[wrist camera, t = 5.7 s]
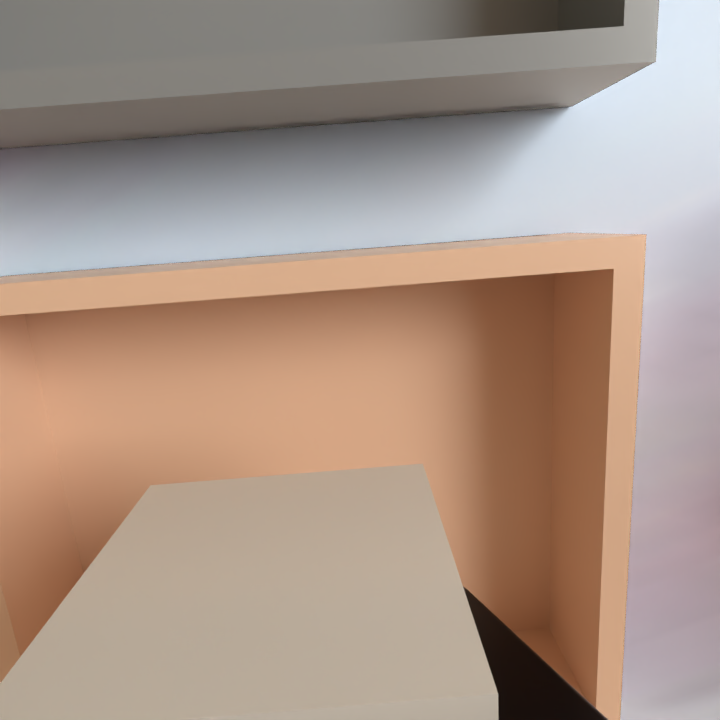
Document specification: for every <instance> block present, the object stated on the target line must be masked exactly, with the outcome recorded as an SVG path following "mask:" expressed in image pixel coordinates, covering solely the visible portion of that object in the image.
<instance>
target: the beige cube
mask: <svg viewBox="0 0 720 720" xmlns="http://www.w3.org/2000/svg"><path fill="white" fill-rule="evenodd" d="M0 720H499V717H498V692H497V689H496V686H495V683H494V680H493V676H492V673H491V670H490V667H489V664H488V661H487V658H486V655H485V652H484V649H483V646H482V643H481V640H480V637H479V634H478V631H477V628H476V625H475V621H474V618H473V615H472V612H471V609H470V606H469V603H468V600H467V597H466V594H465V591H464V588H463V585H462V582H461V579H460V576H459V573H458V570H457V567H456V563H455V560H454V557H453V554H452V551H451V548H450V545H449V542H448V539H447V536H446V533H445V530H444V527H443V524H442V521H441V518H440V515H439V512H438V508H437V505H436V502H435V499H434V496H433V493H432V490H431V487H430V484H429V481H428V478H427V475H426V472H425V469H424V466H423V464H412V465H399V466H386V467H374V468H361V469H349V470H336V471H323V472H311V473H298V474H285V475H273V476H260V477H248V478H235V479H222V480H210V481H197V482H185V483H172V484H159V485H150V487H149V488H148V489H147V491H146V492H145V493H144V495H143V496H142V497H141V499H140V500H139V501H138V503H137V504H136V505H135V506H134V508H133V509H132V510H131V512H130V513H129V514H128V516H127V517H126V518H125V520H124V521H123V522H122V524H121V525H120V526H119V528H118V529H117V530H116V532H115V533H114V534H113V535H112V537H111V538H110V539H109V541H108V542H107V543H106V545H105V546H104V547H103V549H102V550H101V551H100V553H99V554H98V555H97V557H96V558H95V559H94V561H93V562H92V563H91V564H90V566H89V567H88V568H87V570H86V571H85V572H84V574H83V575H82V576H81V578H80V579H79V580H78V582H77V583H76V584H75V586H74V587H73V588H72V590H71V591H70V592H69V593H68V595H67V596H66V597H65V599H64V600H63V601H62V603H61V604H60V605H59V607H58V608H57V609H56V611H55V612H54V613H53V615H52V616H51V617H50V619H49V620H48V621H47V623H46V624H45V625H44V626H43V628H42V629H41V630H40V632H39V633H38V634H37V636H36V637H35V638H34V640H33V641H32V642H31V644H30V645H29V646H28V648H27V649H26V650H25V652H24V653H23V654H22V655H21V657H20V658H19V659H18V661H17V662H16V663H15V665H14V666H13V667H12V669H11V670H10V671H9V673H8V674H7V675H6V677H5V678H4V679H3V681H2V682H1V683H0Z"/></svg>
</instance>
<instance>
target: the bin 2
mask: <svg viewBox="0 0 720 720" xmlns="http://www.w3.org/2000/svg"><path fill="white" fill-rule="evenodd" d="M645 250H646V235H643V234H597V233H562V234H549V235H536V236H522V237H509V238H496V239H483V240H470V241H457V242H444V243H431V244H418V245H404V246H391V247H378V248H365V249H352V250H339V251H326V252H313V253H300V254H286V255H273V256H260V257H247V258H234V259H221V260H208V261H195V262H181V263H168V264H155V265H142V266H129V267H116V268H103V269H90V270H77V271H63V272H50V273H37V274H24V275H11V276H2V277H0V682H2V681H3V679H4V678H5V677H6V675H7V674H8V673H9V671H10V670H11V669H12V667H13V666H14V665H15V663H16V662H17V661H18V659H19V658H20V657H21V655H22V654H23V653H24V652H25V650H26V649H27V648H28V646H29V645H30V644H31V642H32V641H33V640H34V638H35V637H36V636H37V634H38V633H39V632H40V630H41V629H42V628H43V626H44V625H45V624H46V623H47V621H48V620H49V619H50V617H51V616H52V615H53V613H54V612H55V611H56V609H57V608H58V607H59V605H60V604H61V603H62V601H63V600H64V599H65V597H66V596H67V595H68V593H69V592H70V591H71V590H72V588H73V587H74V586H75V584H76V583H77V582H78V580H79V579H80V578H81V576H82V575H83V574H84V572H85V571H86V570H87V568H88V567H89V566H90V564H91V563H92V562H93V561H94V559H95V558H96V557H97V555H98V554H99V553H100V551H101V550H102V549H103V547H104V546H105V545H106V543H107V542H108V541H109V539H110V538H111V537H112V535H113V534H114V533H115V532H116V530H117V529H118V528H119V526H120V525H121V524H122V522H123V521H124V520H125V518H126V517H127V516H128V514H129V513H130V512H131V510H132V509H133V508H134V506H135V505H136V504H137V503H138V501H139V500H140V499H141V497H142V496H143V495H144V493H145V492H146V491H147V489H148V488H149V487H150V485H159V484H172V483H185V482H197V481H210V480H222V479H235V478H248V477H260V476H273V475H285V474H298V473H311V472H323V471H336V470H349V469H361V468H374V467H386V466H399V465H412V464H423V466H424V469H425V472H426V475H427V478H428V481H429V484H430V487H431V490H432V493H433V496H434V499H435V502H436V505H437V508H438V512H439V515H440V518H441V521H442V524H443V527H444V530H445V533H446V536H447V539H448V542H449V545H450V548H451V551H452V554H453V557H454V560H455V563H456V567H457V570H458V573H459V576H460V579H461V582H462V585H463V587H465V588H466V589H467V590H469V591H470V592H471V593H472V594H473V595H474V596H475V597H476V598H477V599H478V600H479V601H480V602H481V603H483V604H484V605H485V606H486V607H487V608H488V609H489V610H490V611H491V612H492V613H493V614H494V615H496V616H497V617H498V618H499V619H500V620H501V621H502V622H503V623H504V624H505V625H506V626H507V627H509V628H510V629H511V630H512V631H513V632H514V633H515V634H516V635H517V636H518V637H519V638H520V639H522V640H523V641H524V642H525V643H526V644H527V645H528V646H529V647H530V648H531V649H532V650H533V651H534V652H536V653H537V654H538V655H539V656H540V657H541V658H542V659H543V660H544V661H545V662H546V663H547V664H549V665H550V666H551V667H552V668H553V669H554V670H555V671H556V672H557V673H558V674H559V675H560V676H562V677H563V678H564V679H565V680H566V681H567V682H568V683H569V684H570V685H571V686H572V687H573V688H575V689H576V690H577V691H578V692H579V693H580V694H581V695H582V696H583V697H584V698H585V699H586V700H587V701H589V702H590V703H591V704H592V705H593V706H594V707H595V708H596V709H597V710H598V711H599V712H600V713H602V714H603V715H604V716H605V717H606V718H607V719H608V720H620V710H621V691H622V673H623V655H624V636H625V618H626V599H627V581H628V563H629V544H630V526H631V507H632V489H633V471H634V452H635V434H636V416H637V397H638V379H639V360H640V342H641V324H642V305H643V287H644V268H645Z"/></svg>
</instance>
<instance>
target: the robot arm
mask: <svg viewBox="0 0 720 720" xmlns="http://www.w3.org/2000/svg"><path fill="white" fill-rule="evenodd" d="M463 588H464V591H465V594H466V597H467V600H468V603H469V606H470V609H471V612H472V615H473V618H474V621H475V625H476V628H477V631H478V634H479V637H480V640H481V643H482V646H483V649H484V652H485V655H486V658H487V661H488V664H489V667H490V670H491V673H492V676H493V680H494V683H495V686H496V689H497V692H498V717H499V720H608V719H607V718H606V717H605V716H604V715H603V714H602V713H600V712H599V711H598V710H597V709H596V708H595V707H594V706H593V705H592V704H591V703H590V702H589V701H587V700H586V699H585V698H584V697H583V696H582V695H581V694H580V693H579V692H578V691H577V690H576V689H575V688H573V687H572V686H571V685H570V684H569V683H568V682H567V681H566V680H565V679H564V678H563V677H562V676H560V675H559V674H558V673H557V672H556V671H555V670H554V669H553V668H552V667H551V666H550V665H549V664H547V663H546V662H545V661H544V660H543V659H542V658H541V657H540V656H539V655H538V654H537V653H536V652H534V651H533V650H532V649H531V648H530V647H529V646H528V645H527V644H526V643H525V642H524V641H523V640H522V639H520V638H519V637H518V636H517V635H516V634H515V633H514V632H513V631H512V630H511V629H510V628H509V627H507V626H506V625H505V624H504V623H503V622H502V621H501V620H500V619H499V618H498V617H497V616H496V615H494V614H493V613H492V612H491V611H490V610H489V609H488V608H487V607H486V606H485V605H484V604H483V603H481V602H480V601H479V600H478V599H477V598H476V597H475V596H474V595H473V594H472V593H471V592H470V591H469V590H467V589H466V588H465V587H463Z"/></svg>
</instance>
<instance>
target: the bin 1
mask: <svg viewBox="0 0 720 720" xmlns="http://www.w3.org/2000/svg"><path fill="white" fill-rule="evenodd" d="M658 11H659V0H0V149H2V148H16V147H29V146H43V145H56V144H70V143H83V142H97V141H110V140H124V139H137V138H151V137H164V136H178V135H192V134H205V133H219V132H232V131H246V130H259V129H273V128H286V127H300V126H313V125H327V124H340V123H354V122H367V121H381V120H394V119H408V118H421V117H435V116H448V115H462V114H475V113H489V112H502V111H516V110H530V109H543V108H557V107H570V106H574V105H575V104H577V103H579V102H581V101H583V100H585V99H587V98H589V97H590V96H592V95H594V94H596V93H598V92H600V91H602V90H604V89H605V88H607V87H609V86H611V85H613V84H615V83H617V82H618V81H620V80H622V79H624V78H626V77H628V76H630V75H632V74H633V73H635V72H637V71H639V70H641V69H643V68H645V67H646V66H648V65H650V64H652V63H654V62H656V48H657V29H658Z"/></svg>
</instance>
